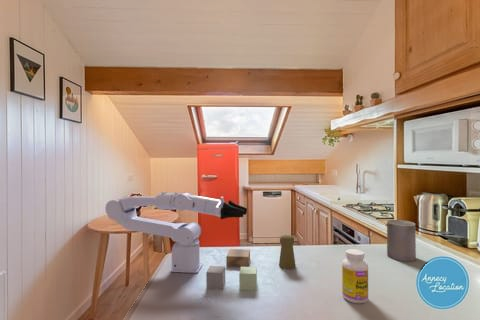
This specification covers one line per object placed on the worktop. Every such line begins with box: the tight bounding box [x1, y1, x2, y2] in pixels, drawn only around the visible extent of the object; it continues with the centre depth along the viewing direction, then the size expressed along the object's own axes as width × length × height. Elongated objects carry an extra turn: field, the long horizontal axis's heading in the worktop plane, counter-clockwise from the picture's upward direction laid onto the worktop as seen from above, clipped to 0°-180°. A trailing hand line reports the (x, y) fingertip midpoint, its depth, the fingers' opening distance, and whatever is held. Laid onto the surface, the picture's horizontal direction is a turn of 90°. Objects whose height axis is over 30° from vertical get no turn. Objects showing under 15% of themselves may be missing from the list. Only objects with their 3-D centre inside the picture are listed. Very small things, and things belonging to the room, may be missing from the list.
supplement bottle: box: [341, 248, 369, 304], centre depth 75 cm, size 7×7×13 cm
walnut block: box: [225, 248, 251, 268], centre depth 103 cm, size 8×8×4 cm
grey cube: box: [205, 265, 226, 290], centre depth 84 cm, size 5×5×5 cm
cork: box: [278, 234, 297, 270], centre depth 99 cm, size 6×6×11 cm
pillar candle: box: [386, 218, 417, 263], centre depth 106 cm, size 10×10×15 cm
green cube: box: [238, 266, 258, 291], centre depth 83 cm, size 5×5×5 cm
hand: (245, 212), depth 94 cm, fingers open, 7 cm apart
